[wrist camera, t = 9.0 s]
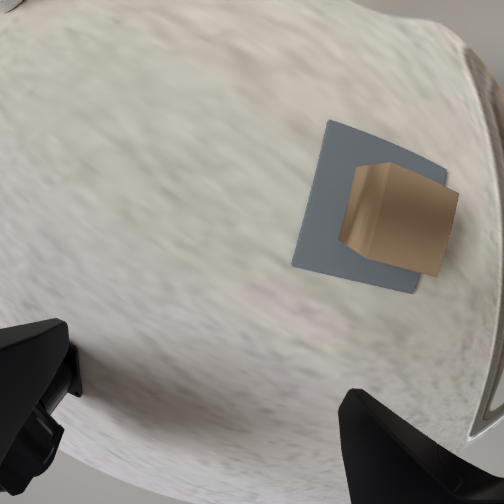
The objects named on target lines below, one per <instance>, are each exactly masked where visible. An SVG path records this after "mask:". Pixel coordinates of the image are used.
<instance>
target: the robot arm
mask: <svg viewBox="0 0 504 504" xmlns="http://www.w3.org/2000/svg"><path fill="white" fill-rule="evenodd" d="M67 392H68V393H70V394H72V395H74V396H76V397H81V396H82V394H83V393H82V386H81V379H80V371H79V363H78V352H77V349H76V347H75V346H73V345H71V344H69V333H68V325H67V323H66V322H65V321H63V320H60V319H58V318H54V319H49V320H44V321H39V322H34V323H29V324H24V325H18V326H13V327H8V328H3V329H0V492H5V491H7V492H8V493H9V494H10V495H12V496H15V495H18V494H21V493H23V492H24V491H25V489H26V487H27V486H28V484H29V483H30V481H31V480H32V478H33V477H37V476H39V475H41V474H42V473H44V472H45V471H46V470H47V469H48V467H49V466H50V465H51V463H52V462H53V460H54V457H55V454H56V451H57V449H58V446H59V443H60V441H61V438H62V435H63V433H64V430H65V429H64V428H63V427H62V426H61V425H59V424H58V423H57V422H56V421H55V420H54V419H53V418H52V417H51V416H50V415H51V414H52V412H53V411H54V409H55V408H56V407H57V405H58V404H59V403H60V402H61V400H62V399H63V398H64V396H65V395H66V394H67ZM338 417H339V427H340V439H341V450H342V456H343V461H344V466H345V472H346V477H347V482H348V488H349V493H350V499H351V504H504V478H501V477H496V476H494V475H491V474H489V473H487V472H485V471H483V470H481V469H480V468H478V467H476V466H474V465H472V464H470V463H468V462H466V461H465V460H463V459H461V458H459V457H457V456H456V455H454V454H453V453H451V452H450V451H448V450H447V449H445V448H444V447H442V446H441V445H439V444H437V443H436V442H435V441H433V440H432V439H430V438H429V437H428V436H426V435H425V434H423V433H422V432H420V431H419V430H418V429H416V428H415V427H413V426H412V425H411V424H409V423H408V422H406V421H405V420H404V419H402V418H401V417H399V416H398V415H397V414H395V413H394V412H392V411H391V410H390V409H388V408H387V407H386V406H384V405H383V404H382V403H380V402H379V401H378V400H376V399H375V398H374V397H372V396H371V395H370V394H368V393H367V392H366V391H364V390H363V389H354V388H352V389H350V390H349V391H348V392H347V394H346V396H345V398H344V399H343V401H342V403H341V405H340V407H339V410H338Z"/></svg>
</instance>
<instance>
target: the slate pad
mask: <svg viewBox="0 0 504 504" xmlns="http://www.w3.org/2000/svg"><path fill="white" fill-rule="evenodd" d="M388 162H392V163H394V164H397V165H399V166H401V167H404V168H406V169H408V170H411V171H413V172H415V173H418V174H420V175H422V176H424V177H426V178H429V179H431V180H433V181H435V182H437V183H439V184H441V185H443V186H444V181H445V176H446V170H447V169H445V168H443V167H441V166H439V165H437V164H435V163H433V162H431V161H429V160H427V159H425V158H423V157H421V156H419V155H417V154H415V153H413V152H411V151H408V150H406V149H404V148H402V147H400V146H397V145H395V144H393V143H390V142H388V141H386V140H383V139H381V138H378V137H376V136H373V135H371V134H368V133H366V132H363V131H360V130H358V129H355V128H352V127H350V126H347V125H344V124H341V123H338V122H335V121H332V120H328V122H327V126H326V131H325V135H324V139H323V143H322V148H321V152H320V156H319V160H318V164H317V169H316V173H315V177H314V181H313V185H312V189H311V193H310V196H309V200H308V204H307V208H306V212H305V216H304V219H303V223H302V227H301V231H300V234H299V238H298V242H297V245H296V249H295V252H294V256H293V259H292V263H291V265H292V266H293V267H297V268H301V269H306V270H310V271H314V272H319V273H323V274H327V275H332V276H336V277H340V278H345V279H349V280H353V281H358V282H362V283H366V284H371V285H375V286H379V287H384V288H388V289H393V290H397V291H401V292H406V293H410V294H413V291H414V289H415V286H416V283H417V280H418V278H419V275H420V272H416V271H412V270H408V269H405V268H401V267H397V266H393V265H390V264H386V263H382V262H378V261H374V260H370V259H366V258H365V257H363V256H362V255H360V254H359V253H357V252H356V251H354V250H353V249H351V248H350V247H348V246H347V245H345V244H344V243H342V242H341V241H339V240H338V237H339V234H340V230H341V226H342V223H343V219H344V215H345V211H346V207H347V204H348V200H349V196H350V191H351V187H352V183H353V179H354V175H355V170H356V167H359V166H366V165H373V164H381V163H388Z"/></svg>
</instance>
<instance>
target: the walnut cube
mask: <svg viewBox="0 0 504 504" xmlns="http://www.w3.org/2000/svg"><path fill="white" fill-rule="evenodd" d="M458 197H459V193H457V192H455V191H453V190H451V189H449V188H447V187H445V186H443V185H441V184H439V183H437V182H435V181H433V180H431V179H429V178H426V177H424V176H422V175H420V174H418V173H415V172H413V171H411V170H408V169H406V168H404V167H401V166H399V165H397V164H394V163H392V162H388V163H381V164H373V165H366V166H359V167H356V170H355V175H354V179H353V183H352V187H351V191H350V196H349V200H348V204H347V207H346V211H345V215H344V219H343V223H342V226H341V230H340V234H339V237H338V240H339V241H341V242H342V243H344V244H345V245H347V246H348V247H350V248H351V249H353V250H354V251H356V252H357V253H359V254H360V255H362V256H363V257H365V258H366V259H370V260H374V261H378V262H382V263H386V264H390V265H393V266H397V267H401V268H405V269H408V270H412V271H416V272H420V273H423V274H427V275H431V276H434V277H437V275H438V272H439V269H440V266H441V263H442V259H443V256H444V253H445V249H446V246H447V243H448V239H449V235H450V231H451V228H452V224H453V219H454V215H455V211H456V206H457V202H458Z"/></svg>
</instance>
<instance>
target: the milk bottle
mask: <svg viewBox="0 0 504 504" xmlns="http://www.w3.org/2000/svg"><path fill="white" fill-rule="evenodd" d="M22 1H23V0H0V13H5V12H8V11H10V10H12V9H13V8H14V7H16V6H17V5H18V4H19V3H21V2H22Z"/></svg>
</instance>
